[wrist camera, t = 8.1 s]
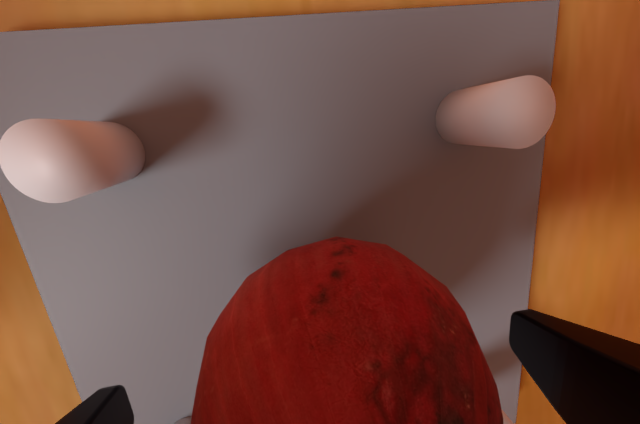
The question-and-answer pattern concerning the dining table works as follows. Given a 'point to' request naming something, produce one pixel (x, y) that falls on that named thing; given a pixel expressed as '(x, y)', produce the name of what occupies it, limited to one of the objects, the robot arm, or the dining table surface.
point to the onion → (344, 345)
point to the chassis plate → (269, 171)
